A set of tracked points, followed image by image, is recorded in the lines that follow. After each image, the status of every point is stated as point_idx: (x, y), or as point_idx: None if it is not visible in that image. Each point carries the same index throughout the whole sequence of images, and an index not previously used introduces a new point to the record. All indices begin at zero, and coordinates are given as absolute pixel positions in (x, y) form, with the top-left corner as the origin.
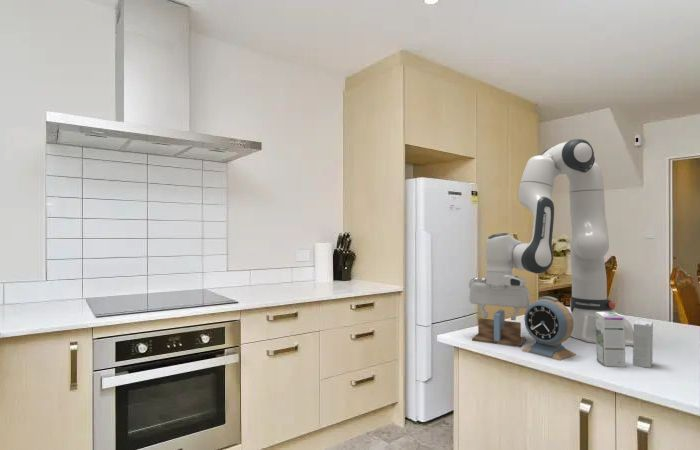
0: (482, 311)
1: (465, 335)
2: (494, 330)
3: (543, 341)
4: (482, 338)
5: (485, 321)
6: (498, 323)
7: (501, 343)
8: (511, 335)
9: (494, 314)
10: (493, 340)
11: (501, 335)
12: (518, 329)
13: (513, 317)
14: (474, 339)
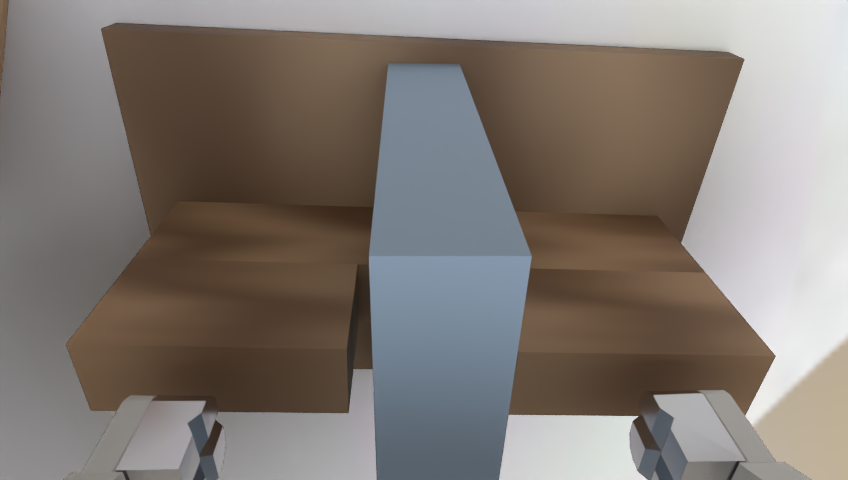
0: (794, 475)
1: (784, 243)
2: (464, 104)
3: None
4: (608, 110)
5: (643, 334)
6: (395, 153)
7: (358, 35)
8: (262, 230)
9: (510, 263)
10: (466, 78)
11: None
12: (136, 281)
13: (137, 427)
14: (706, 55)
